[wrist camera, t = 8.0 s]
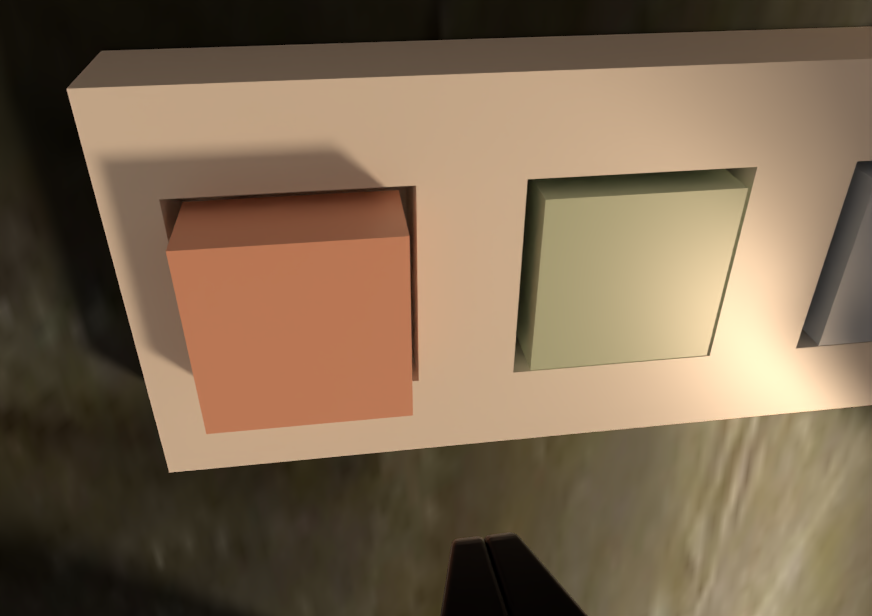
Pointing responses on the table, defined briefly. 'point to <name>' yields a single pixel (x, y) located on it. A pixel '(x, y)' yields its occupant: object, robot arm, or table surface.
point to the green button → (625, 265)
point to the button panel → (492, 209)
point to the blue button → (846, 271)
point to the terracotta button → (295, 308)
